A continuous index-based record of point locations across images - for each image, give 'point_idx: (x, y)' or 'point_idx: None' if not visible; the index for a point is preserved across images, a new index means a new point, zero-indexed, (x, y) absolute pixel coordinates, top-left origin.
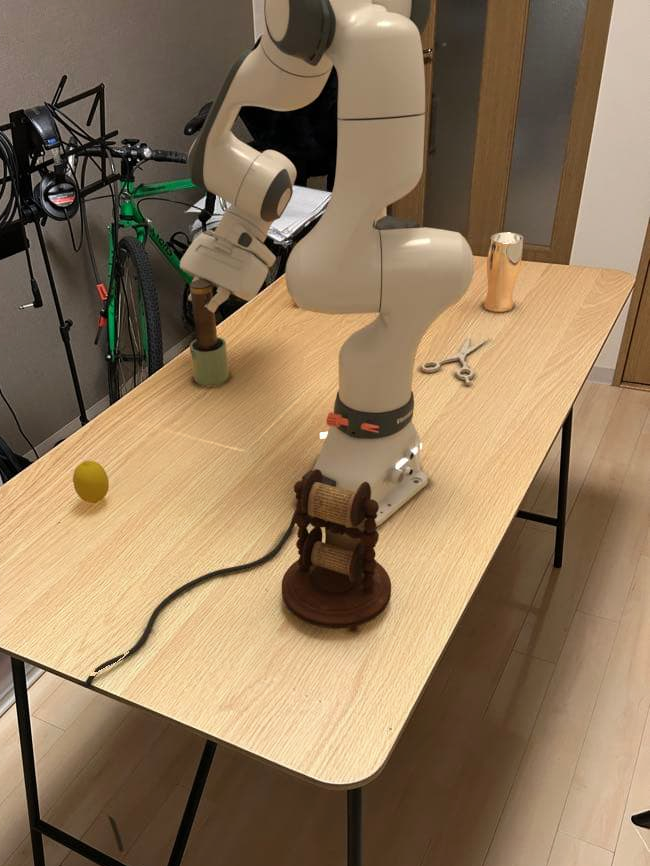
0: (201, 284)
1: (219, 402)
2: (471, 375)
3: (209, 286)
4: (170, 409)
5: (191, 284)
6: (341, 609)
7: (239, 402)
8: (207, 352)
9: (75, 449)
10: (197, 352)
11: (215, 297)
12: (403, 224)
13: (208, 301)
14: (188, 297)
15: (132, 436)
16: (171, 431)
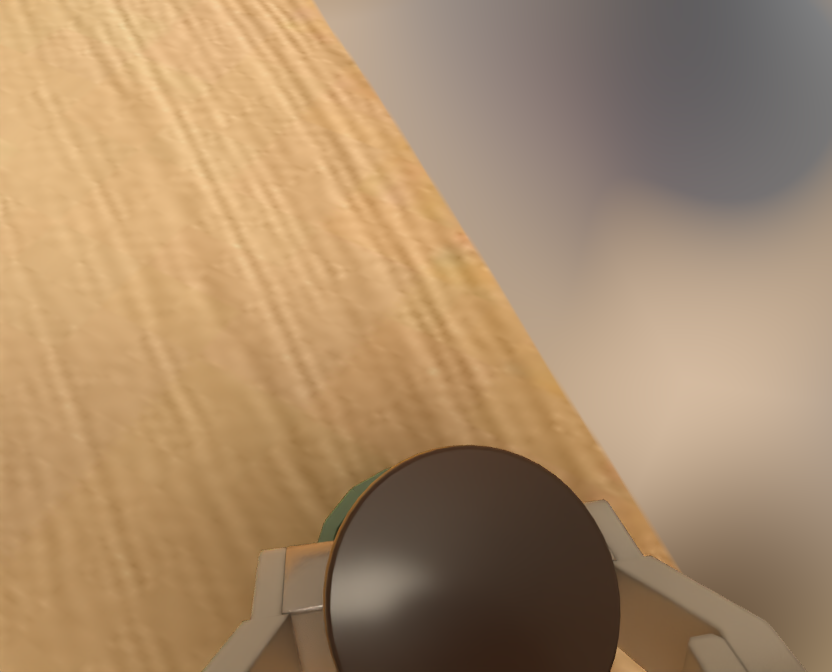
0: (433, 585)
1: (208, 494)
2: None
3: (335, 665)
4: (296, 316)
5: (521, 476)
6: None
7: (144, 567)
8: (327, 519)
9: (282, 15)
10: (372, 476)
11: (225, 658)
12: None
13: (309, 587)
14: (599, 503)
15: (228, 150)
16: (160, 254)
